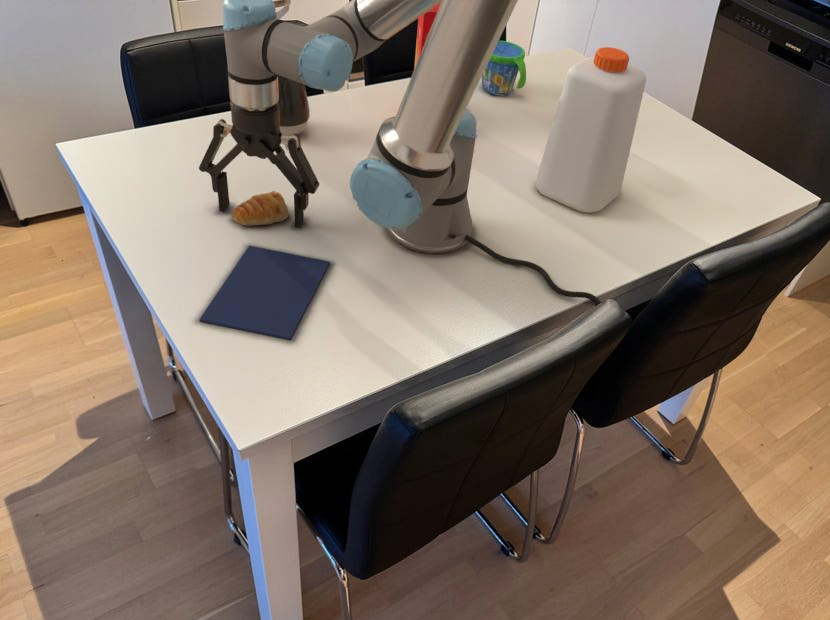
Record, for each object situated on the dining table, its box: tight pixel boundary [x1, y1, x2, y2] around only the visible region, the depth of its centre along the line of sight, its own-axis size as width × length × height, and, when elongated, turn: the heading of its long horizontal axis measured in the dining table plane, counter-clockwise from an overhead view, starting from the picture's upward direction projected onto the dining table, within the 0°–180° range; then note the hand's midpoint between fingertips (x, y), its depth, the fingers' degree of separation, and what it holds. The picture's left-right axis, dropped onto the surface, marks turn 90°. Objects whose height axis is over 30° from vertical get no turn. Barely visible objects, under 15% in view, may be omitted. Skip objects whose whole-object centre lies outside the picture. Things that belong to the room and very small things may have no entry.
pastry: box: [232, 190, 290, 227], centre depth 130 cm, size 9×7×4 cm
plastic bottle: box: [535, 46, 647, 214], centre depth 141 cm, size 15×15×28 cm
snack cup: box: [481, 39, 527, 96], centre depth 179 cm, size 16×10×10 cm
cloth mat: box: [199, 245, 331, 341], centre depth 116 cm, size 14×20×1 cm
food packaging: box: [413, 3, 441, 70], centre depth 159 cm, size 15×5×25 cm, turn 4°
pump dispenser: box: [278, 75, 311, 136], centre depth 150 cm, size 10×10×15 cm
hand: (261, 216), depth 131 cm, fingers open, 13 cm apart
